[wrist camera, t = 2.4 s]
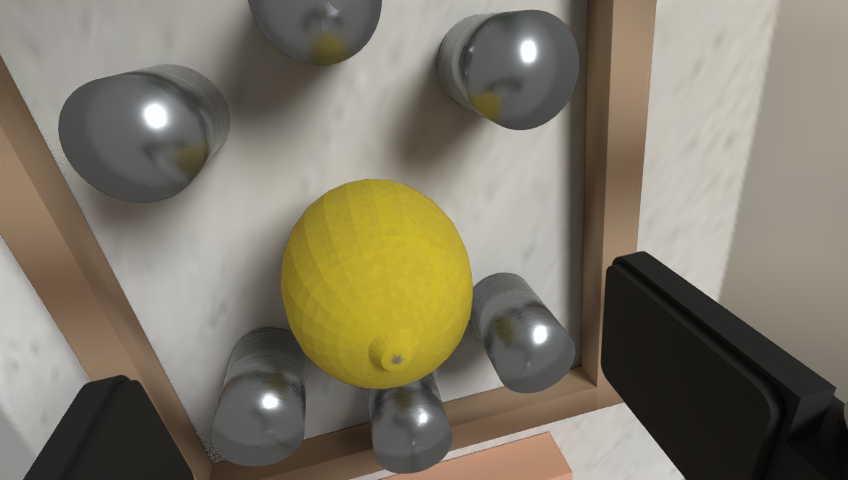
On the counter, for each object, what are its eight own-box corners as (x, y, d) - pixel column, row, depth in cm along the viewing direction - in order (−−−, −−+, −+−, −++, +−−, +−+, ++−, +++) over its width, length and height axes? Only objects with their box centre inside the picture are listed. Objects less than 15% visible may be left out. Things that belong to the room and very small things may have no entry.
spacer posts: (533, 363, 22) (574, 427, 18) (262, 434, 20) (249, 519, 17) (515, -83, 14) (581, -120, 10) (67, -23, 12) (-36, -43, 9)
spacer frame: (607, 381, 24) (624, 402, 22) (191, 494, 21) (182, 526, 20) (639, -202, 13) (674, -227, 12) (-164, -119, 11) (-232, -139, 9)
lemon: (460, 240, 18) (547, 374, 11) (344, 310, 19) (359, 484, 12) (389, 122, 16) (445, 198, 9) (257, 205, 16) (206, 345, 9)
